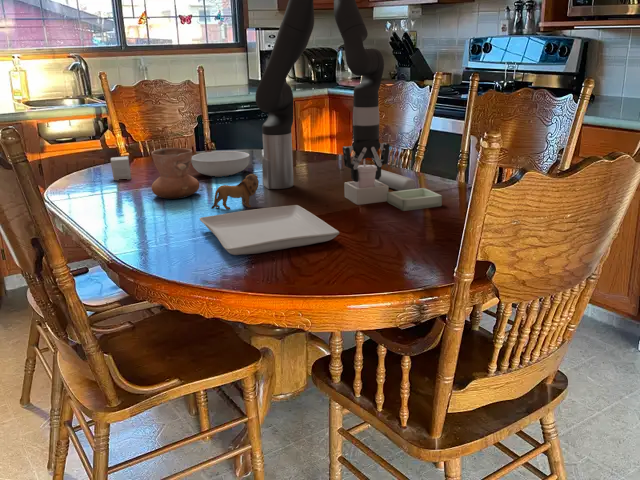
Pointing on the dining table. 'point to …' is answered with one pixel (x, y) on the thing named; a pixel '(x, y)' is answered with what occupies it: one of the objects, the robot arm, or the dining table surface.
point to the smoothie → (366, 175)
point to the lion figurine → (237, 191)
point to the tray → (414, 199)
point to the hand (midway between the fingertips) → (366, 180)
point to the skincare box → (120, 168)
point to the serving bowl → (220, 162)
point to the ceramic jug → (174, 173)
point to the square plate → (268, 229)
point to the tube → (396, 181)
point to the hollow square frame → (366, 193)
